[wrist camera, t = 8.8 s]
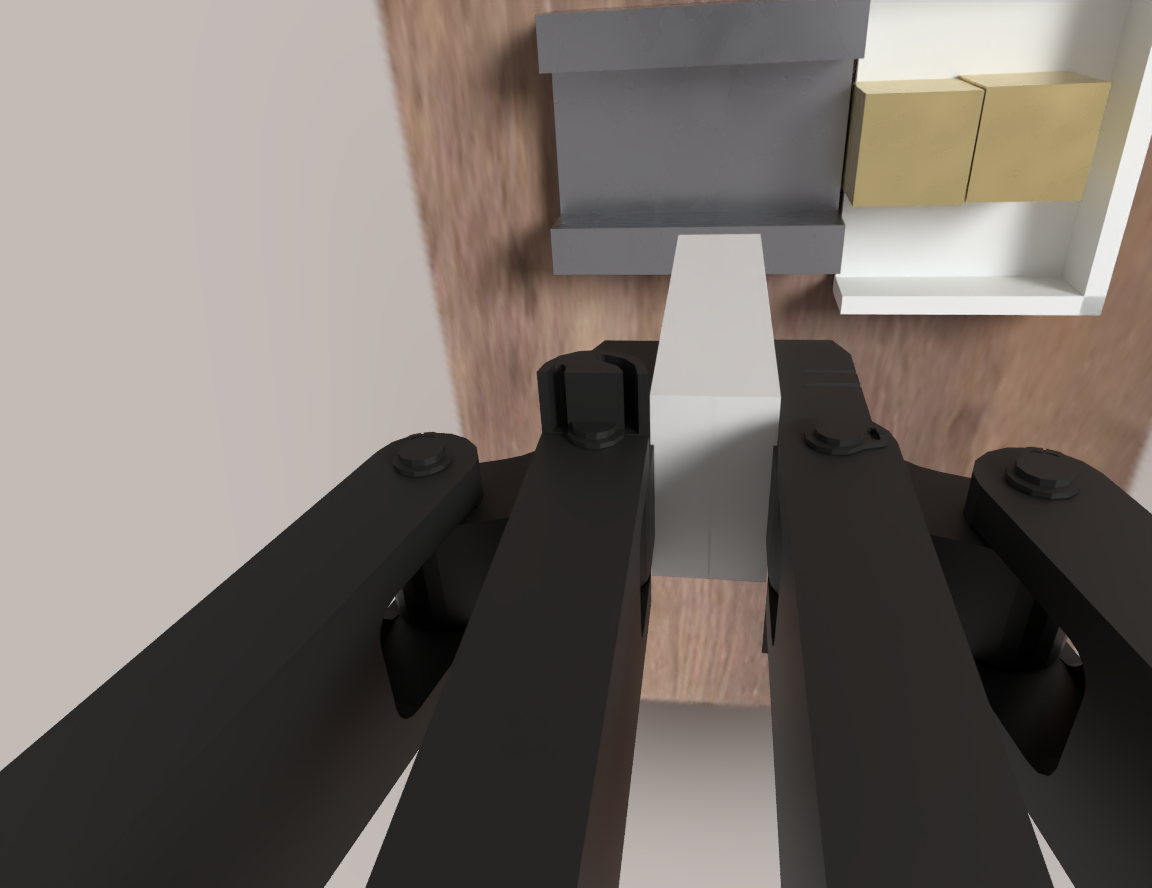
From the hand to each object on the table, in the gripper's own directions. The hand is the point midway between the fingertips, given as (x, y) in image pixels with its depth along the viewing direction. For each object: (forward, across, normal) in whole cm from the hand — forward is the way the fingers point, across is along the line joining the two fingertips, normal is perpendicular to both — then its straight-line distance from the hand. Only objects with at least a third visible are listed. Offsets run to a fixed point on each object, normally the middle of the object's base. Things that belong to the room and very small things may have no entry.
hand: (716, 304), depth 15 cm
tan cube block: (+22, +7, -1) cm, 23 cm away
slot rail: (+22, -1, -1) cm, 22 cm away
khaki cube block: (+22, +11, -1) cm, 24 cm away
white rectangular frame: (+22, +10, -1) cm, 24 cm away
